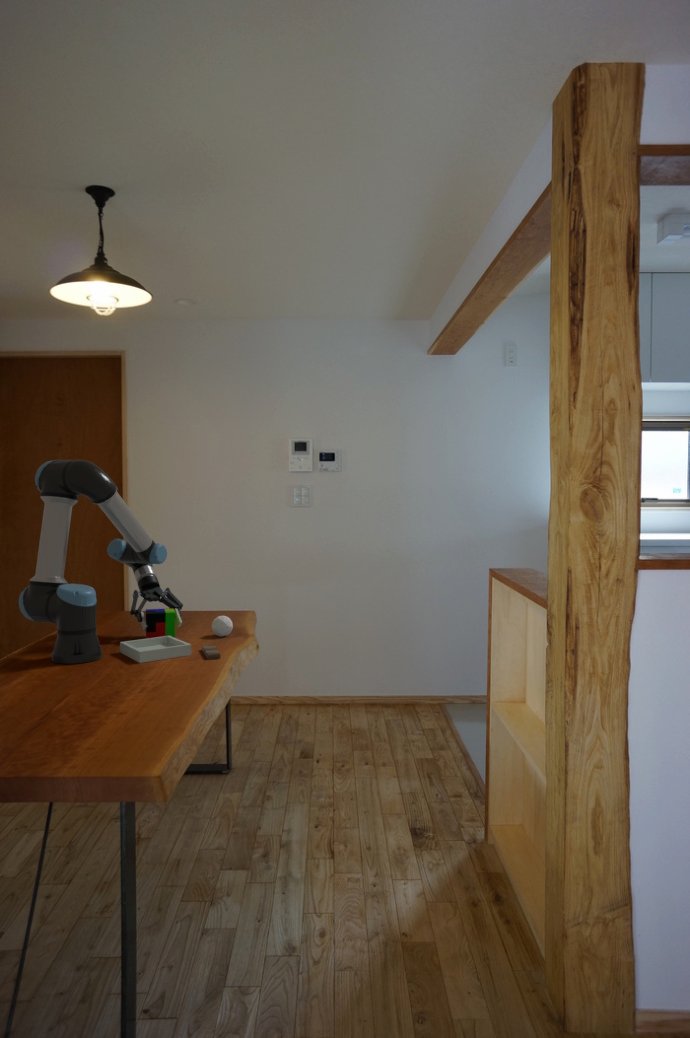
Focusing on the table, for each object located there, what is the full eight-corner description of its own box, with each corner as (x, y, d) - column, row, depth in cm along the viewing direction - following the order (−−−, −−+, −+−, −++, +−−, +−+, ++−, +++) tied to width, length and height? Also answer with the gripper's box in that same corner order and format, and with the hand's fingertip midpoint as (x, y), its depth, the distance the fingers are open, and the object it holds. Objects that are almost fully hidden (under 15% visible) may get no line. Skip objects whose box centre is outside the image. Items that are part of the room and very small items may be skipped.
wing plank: (220, 660, 216) (220, 653, 216) (207, 660, 215) (207, 654, 215) (214, 650, 229) (214, 644, 229) (202, 651, 228) (202, 645, 228)
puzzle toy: (145, 636, 248) (145, 609, 248) (173, 634, 251) (173, 608, 251) (146, 641, 239) (146, 613, 238) (175, 640, 242) (175, 612, 241)
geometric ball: (222, 644, 249) (215, 630, 244) (211, 633, 254) (205, 619, 249) (239, 632, 252) (232, 618, 247) (228, 622, 257) (222, 607, 252)
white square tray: (139, 662, 210) (139, 651, 209) (120, 652, 223) (120, 642, 223) (191, 655, 220) (191, 644, 220) (169, 645, 234) (169, 635, 234)
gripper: (174, 584, 264) (191, 628, 253) (112, 589, 249) (127, 636, 238) (180, 572, 260) (197, 616, 248) (117, 576, 245) (132, 623, 233)
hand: (163, 626), depth 243 cm, fingers closed on puzzle toy, 12 cm apart
